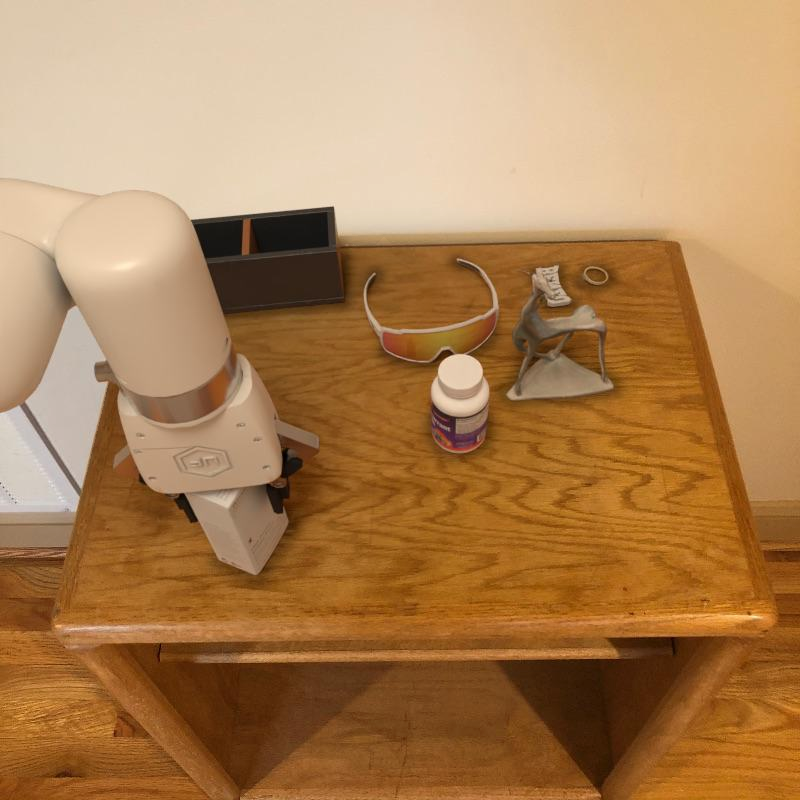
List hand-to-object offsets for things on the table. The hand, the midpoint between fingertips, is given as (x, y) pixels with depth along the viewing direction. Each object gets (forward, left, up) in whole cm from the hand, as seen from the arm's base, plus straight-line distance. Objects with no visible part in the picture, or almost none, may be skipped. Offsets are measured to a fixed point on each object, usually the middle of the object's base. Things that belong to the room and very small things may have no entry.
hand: (237, 501), depth 65 cm
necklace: (+32, +27, -7) cm, 43 cm away
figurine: (+31, +15, -7) cm, 35 cm away
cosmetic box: (0, 0, -7) cm, 7 cm away
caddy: (0, +32, -7) cm, 33 cm away
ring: (+38, +28, -7) cm, 48 cm away
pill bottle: (+20, +9, -7) cm, 23 cm away
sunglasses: (+19, +25, -7) cm, 33 cm away
